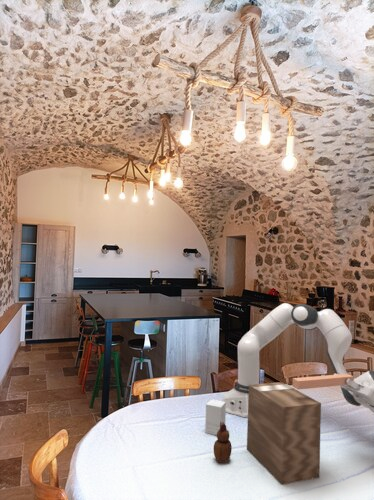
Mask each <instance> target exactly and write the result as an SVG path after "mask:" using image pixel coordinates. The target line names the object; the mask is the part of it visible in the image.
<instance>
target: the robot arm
mask: <svg viewBox="0 0 374 500" xmlns="http://www.w3.org/2000/svg"><path fill="white" fill-rule="evenodd" d="M292 324H296V325H297V326H298V327H300V328H301V329H304V330H307V331H312V330H316V329H319V330H320V332H321V334H322V335H323V336H324V338H325V340H326V343H327V350H326V353H327V357H328V360H329V362H330V365H331V368H332V369H333V371H334V373H333V375H338V374H348V372H347V370H346V368H345V366H344V364H343V363H344V362H343V358H344V357H345V354H346V353H347V351H348V350H349V348H350V346H351V345H352V342H353V341H352V339H353V337H352V336H353V335H352V333H351V331H350V329H349V328H348V326H347V325H346V323H345V322H344V320H342V319H341V317H340V316H339V315H338V314H337V313H336V312H335V311H334V310H333V309H331V308H325V309H321V310H320V311H318V310H317V309H316V308H314V307H312V306H310V305H308V304H306V303H299V304H296V305H295V306H293V305H291V304H290V303H288V302H287V303H286V302H284V303H281V304H280V305H278V306H277V307H275V308H274V309H272V310H271V311H270V312H269V313H268V314H267V315H266V316H264V318H262V319H261V320H260V321H259V322H258V323H256V325H254V326H253V327H252V328H250V329H249V331H247V332H246V333H245V334H244V335H243V336H242V337H241V339H240V340H239V341H238V343H237V368H238V369H237V371H238V372H237V379H235V380H234V383H233V388H232V389H230V390H229V391H227V392H225V394H224V396H223V398H222V401H223V402H226V413H227V414H232V415H235V416H238V417H242V418H248V396H249V385H252V384H260V371H261V370H260V351H261V350H262V349H263V348H264V347H265V346H266V345H268V344H270V342H272V341H273V340H274V339H276V338H277V337H278V336H279V335H280V334H281V333H282V332H284V331H285V330H286V329H287V328H288V327H289V326H291V325H292ZM345 383H347V384H348V385H340V386H339V387H340V388H341V392H342V393H341V394H342V395H343V397H344V399H345V400H346V402H347V403H348V404H350V405H352V406H355V407H361V406H363V407H364V408H367V409H369V410H370V411H371V412H372V413H374V370H371V369H370V370H368V371H366V372H364V373H362V374H360V375H358V376H357V377H356V378H355V377H354V382H353V381H351V380H350V379H347V378H346V379H345Z"/></svg>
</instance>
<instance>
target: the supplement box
mask: <svg viewBox="0 0 374 500" xmlns="http://www.w3.org/2000/svg"><path fill="white" fill-rule="evenodd" d="M226 413H227V412H226V402H223V400H217V399H213V398H211V399H210V400H209V401H208V402H206V403H205V428H204V429H205V430H204V433H205V434H209V435H213V436H217V432H218V430H220V422H221V423H223V422H224V424H225V425H226V415H227V414H226Z"/></svg>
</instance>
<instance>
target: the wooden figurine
mask: <svg viewBox="0 0 374 500" xmlns="http://www.w3.org/2000/svg"><path fill="white" fill-rule="evenodd" d="M232 447H233V446H232V442H231V441H230V431H229V430H228V429H227V425H226V423H225V424H224V422H223V423H221V422H220V430H218V432H217V435H216V440H215V441H214V444H213V455H214V457H215V460H216V462H219V463H227V462H228V461H230V458H231V456H232V451H233V450H232Z"/></svg>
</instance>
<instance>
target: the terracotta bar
mask: <svg viewBox="0 0 374 500" xmlns="http://www.w3.org/2000/svg"><path fill="white" fill-rule="evenodd" d="M346 378H347V379H350V380H351V381H353V382H354V379H355V377H354V375H351V374H349V373H347V374H338V375H334V374H329V375H328V374H326V375H319V376H318V375H316V376H304V377H294V378H293V377H292V387H293V388H294V389H296V390H297V391H299V390H307V389H318V388H327V387H329V388H330V387H340V385H348V384H347V383H345V379H346Z"/></svg>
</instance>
